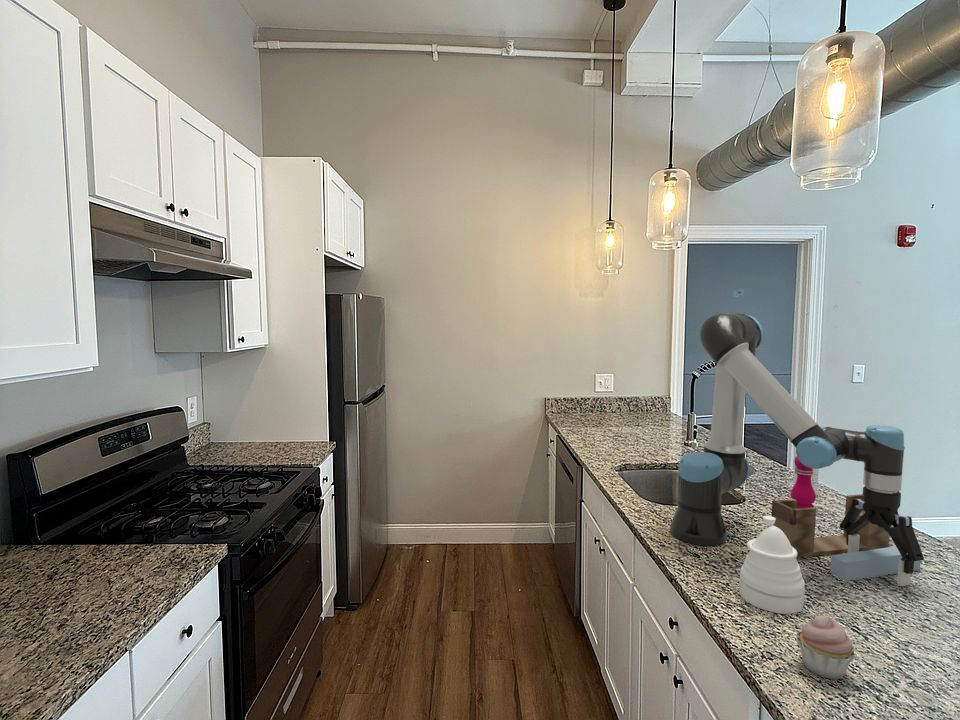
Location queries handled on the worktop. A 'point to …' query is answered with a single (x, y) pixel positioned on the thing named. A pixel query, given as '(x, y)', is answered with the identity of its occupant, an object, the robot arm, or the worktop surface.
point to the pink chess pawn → (813, 478)
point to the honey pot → (772, 572)
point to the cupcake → (825, 647)
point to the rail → (867, 563)
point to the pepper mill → (803, 486)
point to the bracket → (802, 537)
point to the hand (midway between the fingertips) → (876, 571)
